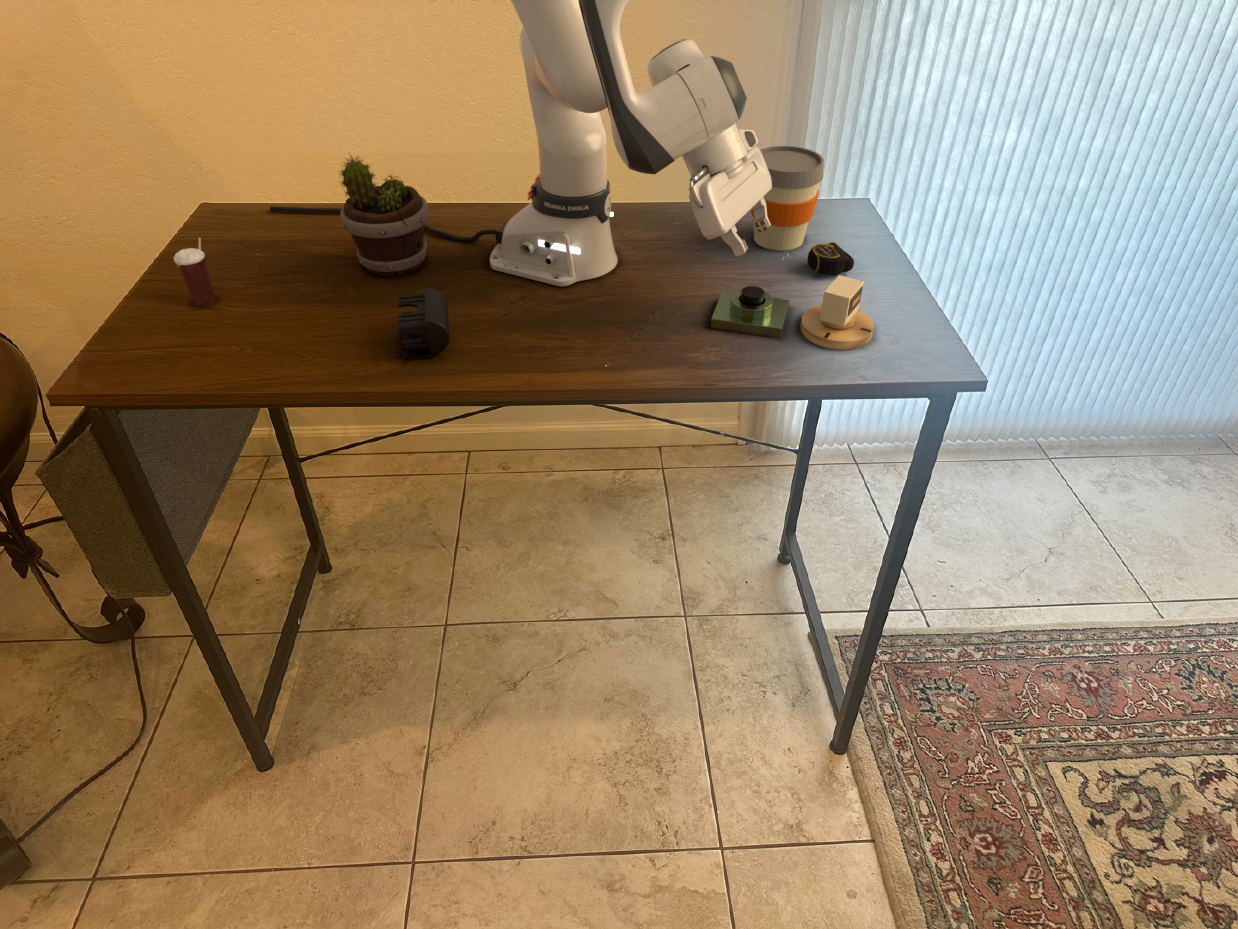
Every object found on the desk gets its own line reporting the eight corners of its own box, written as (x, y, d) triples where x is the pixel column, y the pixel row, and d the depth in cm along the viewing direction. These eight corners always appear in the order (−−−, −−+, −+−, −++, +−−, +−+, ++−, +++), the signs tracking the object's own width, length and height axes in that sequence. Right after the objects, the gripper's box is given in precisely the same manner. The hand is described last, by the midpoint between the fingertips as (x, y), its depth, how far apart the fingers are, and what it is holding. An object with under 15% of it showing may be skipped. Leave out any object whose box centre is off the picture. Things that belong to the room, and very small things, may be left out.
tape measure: (853, 276, 147) (857, 256, 145) (817, 282, 145) (821, 262, 143) (834, 258, 152) (837, 238, 150) (799, 264, 150) (802, 244, 148)
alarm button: (738, 305, 134) (739, 295, 133) (742, 294, 136) (743, 284, 135) (761, 308, 133) (762, 298, 132) (765, 297, 136) (766, 287, 134)
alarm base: (710, 328, 135) (711, 308, 132) (721, 300, 141) (722, 281, 139) (780, 338, 132) (783, 318, 130) (788, 309, 139) (791, 289, 137)
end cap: (452, 357, 129) (446, 318, 124) (404, 362, 128) (396, 323, 123) (450, 323, 136) (444, 285, 132) (405, 327, 135) (397, 289, 131)
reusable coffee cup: (775, 261, 151) (785, 178, 141) (730, 235, 159) (736, 154, 149) (827, 243, 156) (840, 162, 147) (781, 218, 164) (791, 140, 155)
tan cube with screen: (860, 316, 134) (867, 282, 130) (846, 333, 130) (852, 299, 126) (829, 307, 136) (835, 273, 132) (815, 324, 132) (820, 290, 128)
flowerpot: (441, 242, 158) (424, 132, 145) (429, 283, 146) (410, 167, 133) (361, 244, 157) (337, 134, 144) (344, 285, 146) (316, 169, 133)
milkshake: (229, 295, 143) (210, 240, 137) (205, 310, 140) (184, 254, 133) (209, 290, 145) (189, 234, 138) (184, 305, 141) (163, 248, 135)
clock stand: (858, 357, 128) (860, 348, 127) (789, 337, 132) (790, 328, 131) (881, 323, 135) (883, 314, 134) (815, 305, 140) (816, 297, 139)
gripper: (704, 171, 117) (746, 262, 122) (758, 127, 131) (794, 210, 136) (668, 188, 121) (709, 275, 126) (724, 143, 135) (760, 223, 140)
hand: (754, 241), depth 131 cm, fingers open, 8 cm apart
